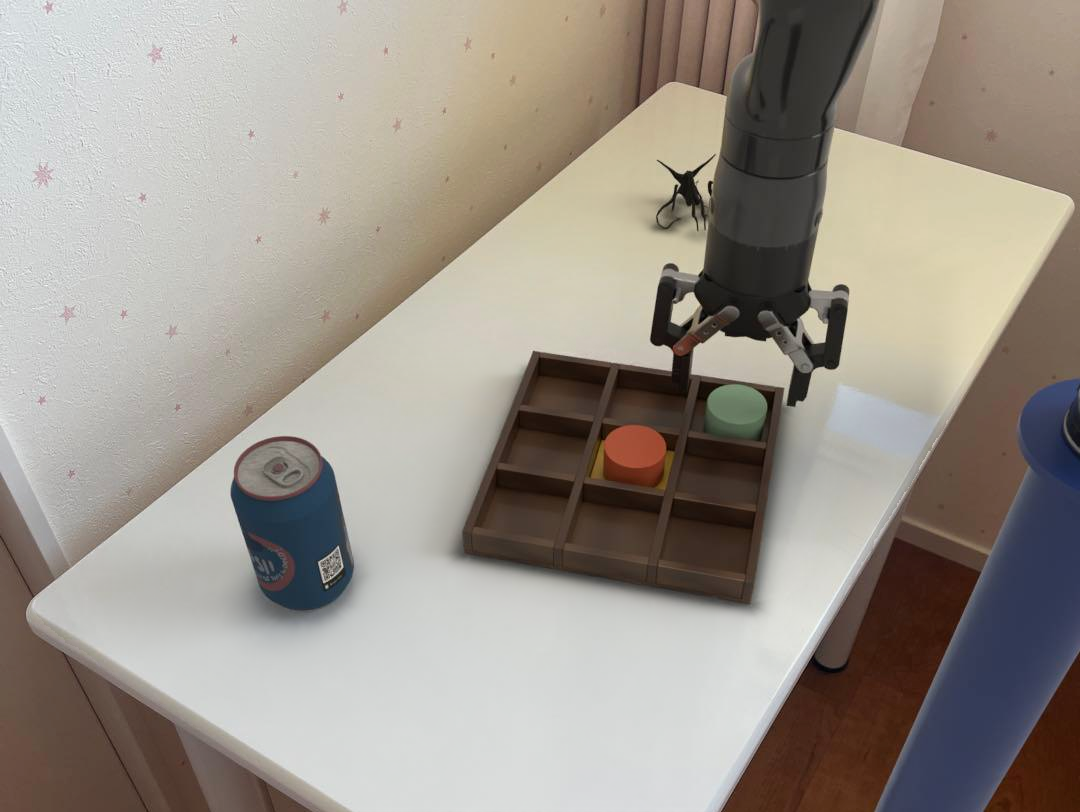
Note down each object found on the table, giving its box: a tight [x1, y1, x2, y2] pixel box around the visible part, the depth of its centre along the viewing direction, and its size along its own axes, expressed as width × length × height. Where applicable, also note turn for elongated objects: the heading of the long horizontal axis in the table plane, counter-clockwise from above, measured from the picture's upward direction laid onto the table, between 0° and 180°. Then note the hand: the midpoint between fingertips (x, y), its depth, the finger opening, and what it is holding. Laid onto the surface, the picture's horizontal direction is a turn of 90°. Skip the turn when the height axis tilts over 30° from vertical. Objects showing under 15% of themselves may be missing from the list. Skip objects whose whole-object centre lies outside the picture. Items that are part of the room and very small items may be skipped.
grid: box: [461, 350, 785, 605], centre depth 87 cm, size 21×21×2 cm
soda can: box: [229, 435, 355, 612], centre depth 77 cm, size 7×7×12 cm
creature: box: [655, 153, 717, 232], centre depth 110 cm, size 8×5×8 cm
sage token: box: [704, 384, 767, 441], centre depth 90 cm, size 5×5×3 cm
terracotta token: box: [603, 425, 666, 488], centre depth 86 cm, size 5×5×3 cm
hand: (737, 392), depth 88 cm, fingers open, 8 cm apart
